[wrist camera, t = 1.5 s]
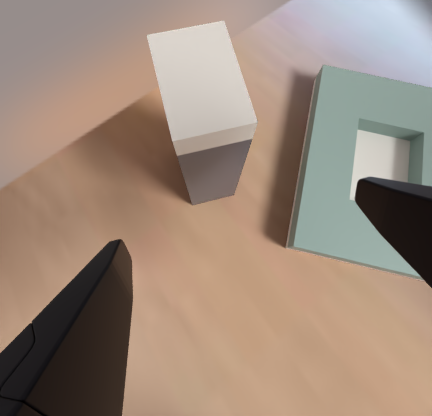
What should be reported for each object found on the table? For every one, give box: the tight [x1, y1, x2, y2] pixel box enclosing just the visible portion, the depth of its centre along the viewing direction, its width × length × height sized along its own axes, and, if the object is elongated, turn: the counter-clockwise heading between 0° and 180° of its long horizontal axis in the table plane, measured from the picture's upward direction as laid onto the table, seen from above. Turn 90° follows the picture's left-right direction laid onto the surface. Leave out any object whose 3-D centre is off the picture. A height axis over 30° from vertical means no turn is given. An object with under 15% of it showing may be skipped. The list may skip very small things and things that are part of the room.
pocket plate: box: [286, 65, 432, 282], centre depth 23 cm, size 18×14×2 cm
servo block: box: [147, 21, 258, 205], centre depth 18 cm, size 6×4×12 cm, turn 15°
